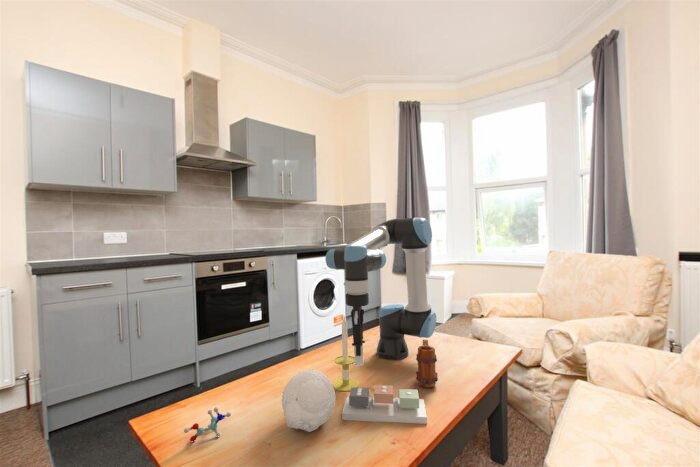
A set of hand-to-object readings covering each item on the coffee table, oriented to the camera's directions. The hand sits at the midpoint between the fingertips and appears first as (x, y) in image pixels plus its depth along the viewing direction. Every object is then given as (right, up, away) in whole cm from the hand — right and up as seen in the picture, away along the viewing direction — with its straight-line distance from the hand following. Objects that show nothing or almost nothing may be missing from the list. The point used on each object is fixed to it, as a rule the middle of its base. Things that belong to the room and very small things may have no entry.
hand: (359, 364), depth 109 cm
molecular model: (-43, -17, -12) cm, 48 cm away
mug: (+27, -15, +20) cm, 36 cm away
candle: (-5, -16, +19) cm, 25 cm away
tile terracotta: (+8, -11, -1) cm, 13 cm away
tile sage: (+16, -12, -2) cm, 20 cm away
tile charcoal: (0, -12, 0) cm, 12 cm away
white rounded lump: (-15, -16, -7) cm, 23 cm away
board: (+8, -15, -1) cm, 17 cm away
